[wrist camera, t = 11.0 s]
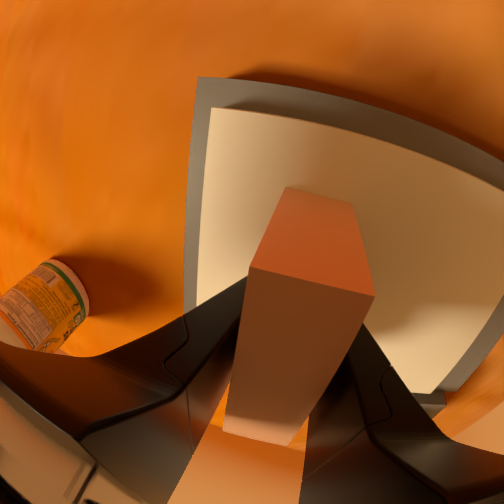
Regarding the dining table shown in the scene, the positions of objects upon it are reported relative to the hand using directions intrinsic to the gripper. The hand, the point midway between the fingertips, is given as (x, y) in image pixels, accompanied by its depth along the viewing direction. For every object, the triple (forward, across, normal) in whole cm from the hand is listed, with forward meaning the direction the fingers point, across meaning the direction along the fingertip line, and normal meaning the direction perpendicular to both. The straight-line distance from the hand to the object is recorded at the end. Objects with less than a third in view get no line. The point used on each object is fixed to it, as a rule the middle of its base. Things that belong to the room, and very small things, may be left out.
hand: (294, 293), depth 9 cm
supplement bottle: (+4, +16, +8) cm, 18 cm away
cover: (+2, -2, 0) cm, 3 cm away
